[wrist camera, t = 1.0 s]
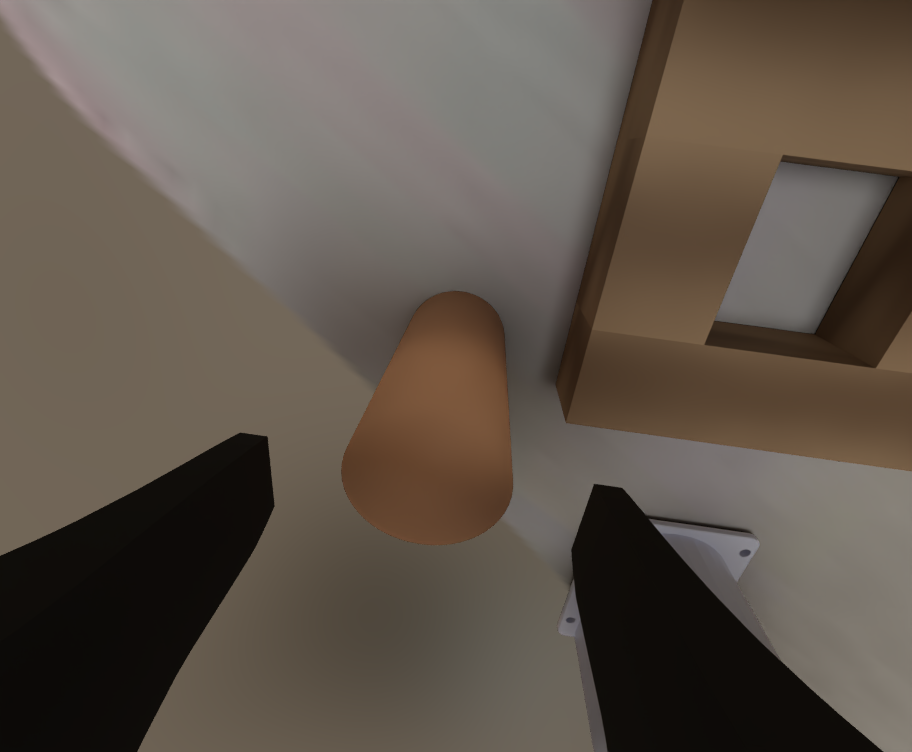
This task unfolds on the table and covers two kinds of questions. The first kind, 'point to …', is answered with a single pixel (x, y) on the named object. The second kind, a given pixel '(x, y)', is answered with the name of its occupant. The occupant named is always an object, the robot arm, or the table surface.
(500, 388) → the peg
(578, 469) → the table surface
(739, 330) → the socket block
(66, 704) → the robot arm
